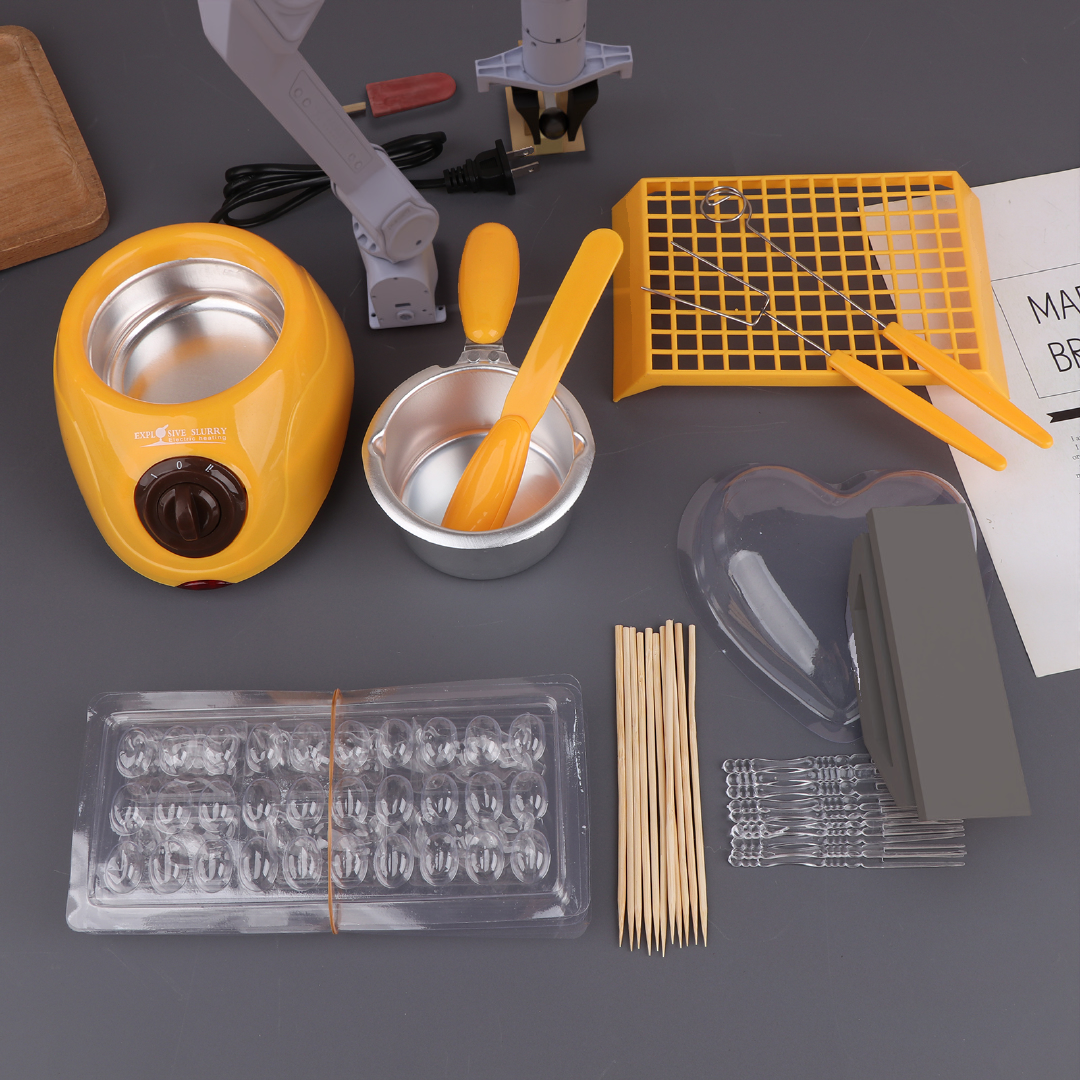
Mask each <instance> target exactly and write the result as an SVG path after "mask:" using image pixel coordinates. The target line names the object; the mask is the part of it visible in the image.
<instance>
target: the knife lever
mask: <svg viewBox="0 0 1080 1080" xmlns="http://www.w3.org/2000/svg"><path fill="white" fill-rule="evenodd" d="M542 93H543V99H544V105H545V111H543V113H542V114H541V116H540V118H539V128H540V131H541V133H542V135H543V136H544V137H546V138H547V139H550V140H557V139H560V138H561V137H563V136H564V135H565V133H566V132H567V129H568V117H567V115H566V113H565V112H564V111H563V110H562V109H560V108H557V105H556V100H555V94H554V93H549V92H543V91H542Z"/></svg>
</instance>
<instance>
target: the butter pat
mask: <svg viewBox="0 0 1080 1080" xmlns="http://www.w3.org/2000/svg"><path fill="white" fill-rule="evenodd" d="M558 108H559V107H558ZM543 111H545V109H540V111H539V118H540V116H541V114H542V113H543ZM540 136H541V145H535V150H536V155H535V156H538V155H537V154H543V155H549V154H548V153H554V154H559V153H558V152H563V137H561V138H560V139H557V140H550V139H547V138H546V137H544V136H543V135H542V133H541V131H540Z"/></svg>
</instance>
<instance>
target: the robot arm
mask: <svg viewBox="0 0 1080 1080" xmlns="http://www.w3.org/2000/svg"><path fill="white" fill-rule="evenodd" d="M325 2H326V0H197V4H198V5H197V6H198V11H199V15H200V20H201V25H202V29H203V33H204V36H205V37H206V39H207V41H208V43H209V44H210V45H211V47H212V48H213V49H214V51H215V52H216V53H217V54H218V55H219V56H220V58H221V60H222V61H224V62H225V64H226V66H227V67H229V68H230V70H231V71H232V72H233V73H234V74H235V75H236V76H237V78H238V79H239V80H240V81H241V82H242V83H243V84H244V85H245V86H246V88H248V89H249V91H250V92H251V93H252V94H253V95H254V96H255V97H256V98H257V100H259V101H260V103H261V104H262V105H263V106H264V107H265V108H266V109H267V110H268V111H269V113H270V114H271V115H272V116H273V118H275V119H276V120H277V121H278V122H279V124H280V125H281V126H282V127H283V128H284V129H285V130H286V132H288V133H289V135H290V136H291V137H292V138H293V139H294V141H296V142H297V144H298V145H299V146H300V147H301V148H302V149H303V150H304V151H305V152H306V154H308V156H309V157H310V158H311V159H312V160H313V161H314V162H315V163H316V164H317V165H318V166H319V168H320V169H321V170H322V171H323V172H324V173H325V174H326V176H328V178H329V181H330V188H331V191H332V193H333V195H334V196H335V197H336V198H337V199H338V201H340V202H341V203H342V204H343V205H344V206H345V208H346V209H348V211H349V212H350V213H351V216H352V217H351V219H352V230H353V234H354V237H355V240H356V244H357V247H358V250H359V252H360V255H361V256H360V257H361V258H362V259H361V260H362V262H363V266H364V268H365V271H366V282H367V303H368V321H369V322H368V323H369V327H370V328H371V329H372V330H382V329H391V328H402V327H411V326H412V327H413V326H420V325H431V324H441V323H444V322H446V320H447V310H446V304H438V305H436V300H435V299H436V297H435V292H436V287H437V285H438V284H437V283H438V280H439V270H438V265H437V259H436V256H435V250H434V245H433V240H434V238H435V237H436V234H437V232H438V231H439V225H440V215H439V212H438V211H437V209H436V208H435V207H434V206H433V205H432V204H431V203H430V202H428V201H427V200H426V199H425V198H424V196H423V195H422V194H421V193H420V192H419V191H418V189H416V188H415V186H414V185H413V184H412V182H410V180H409V179H408V178H407V177H406V176H405V174H403V172H402V171H401V170H400V169H399V168H398V166H397V165H396V164H395V163H394V162H393V161H392V160H391V159H390V156H389V154H388V152H387V151H386V150H385V148H383V147H382V146H381V145H378V144H376V143H372V142H370V141H369V140H368V139H367V138H366V136H365V135H364V134H363V132H362V131H361V130H360V128H359V127H358V126H357V124H356V123H355V122H354V120H353V119H352V118H351V117H350V116H349V113H346V112H345V110H344V109H343V108H342V105H341V104H340V102H339V101H338V99H336V97H335V96H334V94H332V92H331V91H330V89H328V88H329V87H327V86H326V84H325V83H324V82H323V81H322V79H321V78H320V77H319V75H318V73H316V72H315V70H314V69H313V67H312V66H311V65H310V64H309V62H308V60H307V59H306V58H305V57H304V55H303V54H302V53H301V52H300V50H298V49H299V47H300V45H301V44H302V42H303V40H304V39H305V37H306V35H307V33H308V31H309V30H310V28H311V26H312V24H313V22H314V21H315V19H316V18H317V15H318V14H319V12H320V11H321V8H322V7H323V5H324V3H325ZM520 11H521V12H520V14H521V37H522V38H521V40H522V46H519V47H518V46H517V47H513V48H512V49H509V50H506V51H504V52H502V53H498V54H496V55H494V56H490V57H486V58H482V59H475V60H474V65H475V66H474V67H475V75H476V84H477V92H478V93H487V92H490V90H491V89H490V88H491V87H494V86H495V87H496V86H504V85H505V86H510V87H511V90H512V98H513V103H514V106H515V108H516V110H517V111H518V112H519V113H520V114H521V116H522V117H523V118H524V120H525V121H526V123H527V125H528V127H529V129H530V131H531V134H532V137H533V142H534V145H541V136H540V128H539V111H540V105H539V98H538V91H543V92H549V93H558V92H564V91H567V90H568V101H567V111H566V115H567V117H568V129H567V135H568V142H572V141H575V139H576V135H577V132H578V129H579V127H580V125H581V126H582V122H583V121H584V119H585V117H586V115H587V114H588V113H589V111H590V110H591V109H592V108H593V106H595V105H596V104H597V102H598V99H599V93H600V89H599V84H598V79H600V78H603V77H605V76H608V75H618V77H619V78H620V79H621V80H624V79H632V77H633V76H632V75H633V67H634V66H633V65H634V59H633V52H632V47H631V45H613V44H606V43H602V42H595V41H590V40H587V19H588V0H520ZM440 309H441V310H440Z"/></svg>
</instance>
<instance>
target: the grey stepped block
mask: <svg viewBox="0 0 1080 1080" xmlns="http://www.w3.org/2000/svg"><path fill="white" fill-rule="evenodd" d="M865 517H866V518H865V519H866V523H867V524H866V525H867V529H868V532H861V533H859V535H858V536H857V537H855V538H854V540H853V541H852V549H851V556H850V563H849V571H848V572H849V573H848V580H847V591H846V593H847V592H848V597H849V605H850V612H851V618H852V627H853V633H854V640H855V646H856V654H857V663H858V668H859V678H860V690H859V683H858V677H857V675H855V677H856V679H855V678H854V677H853V681H854V682H853V683H854V688H855V695H856V700H857V707H858V713H859V719H860V725H861V732H862V739H863V744H864V746H865V748H866V749H867V752H868V753H869V755H870V757H871V759H872V761H873V763H874V766H875V767H876V769H877V771H878V773H879V775H880V777H881V778H882V780H883V782H884V784H885V786H886V788H887V790H888V792H889V794H890V796H891V797H892V800H893V801H894V803H895V805H896V807H897V808H911V807H915V808H916V811H917V816H918V817H917V818H918V822H922V821H923V822H924V821H945V820H966V819H985V818H986V819H987V818H1006V817H1007V818H1008V817H1027V816H1028V817H1029V816H1033V815H1032V809H1031V805H1030V800H1029V794H1028V790H1027V785H1026V781H1025V777H1024V771H1023V766H1022V762H1021V758H1020V752H1019V748H1018V744H1017V739H1016V734H1015V730H1014V725H1013V720H1012V715H1011V710H1010V705H1009V702H1008V701H1009V700H1008V696H1007V692H1006V686H1005V682H1004V678H1003V672H1002V668H1001V664H1000V659H999V653H998V650H997V645H996V640H995V635H994V630H993V626H992V622H991V621H992V620H991V617H990V612H989V608H988V602H987V598H986V593H985V589H984V584H983V579H982V574H981V569H980V565H979V561H978V555H977V550H976V546H975V541H974V537H973V531H972V528H971V527H972V526H971V523H970V518H969V513H968V508H967V503H966V502H962V503H959V502H958V503H941V504H939V503H938V504H919V505H917V504H916V505H897V506H896V505H895V506H875V507H871V508H870V509H869V510H868V511H867V512H866V513H865ZM854 674H855V672H854ZM860 691H861V696H860ZM861 700H862V702H861Z"/></svg>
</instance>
